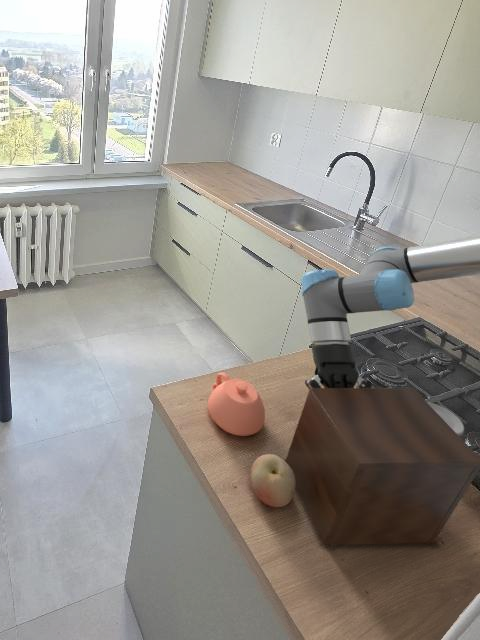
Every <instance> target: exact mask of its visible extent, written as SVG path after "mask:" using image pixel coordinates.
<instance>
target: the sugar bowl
mask: <svg viewBox="0 0 480 640" xmlns="http://www.w3.org/2000/svg"><path fill="white" fill-rule="evenodd" d="M222 378H223V379H222ZM222 380H224V381H222ZM212 389H213V390H212V392H211V393H210V395H209V397H208V401H207V410H208V413H209V415H210V417H211V419H212V420H213V422H214V423H215V424H216V425H217V426H218V427H220V428H221V429H222V430H223V431H224V432H226V433H228V434H231V435H233V436H234V435H235V436H238V437H239V436H240V437H247V436H251V435H254V434H257V433H259V431H260V430H261V429H262V428H263V426H264V424H265V420H266V411H265V406H264V403H263V402H264V401H263V399H262V398H261V396H260V394H259V392H258V390H257V389H256V388H255V387H254V386H253V385H252V384H251V383H249V382H248V381H247V380H243V379H240V378H231V377H230V376H229V374H227V373H226V372H224V371H222V372H219V373H217V375H216V378H215V382H214V384H212Z"/></svg>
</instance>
